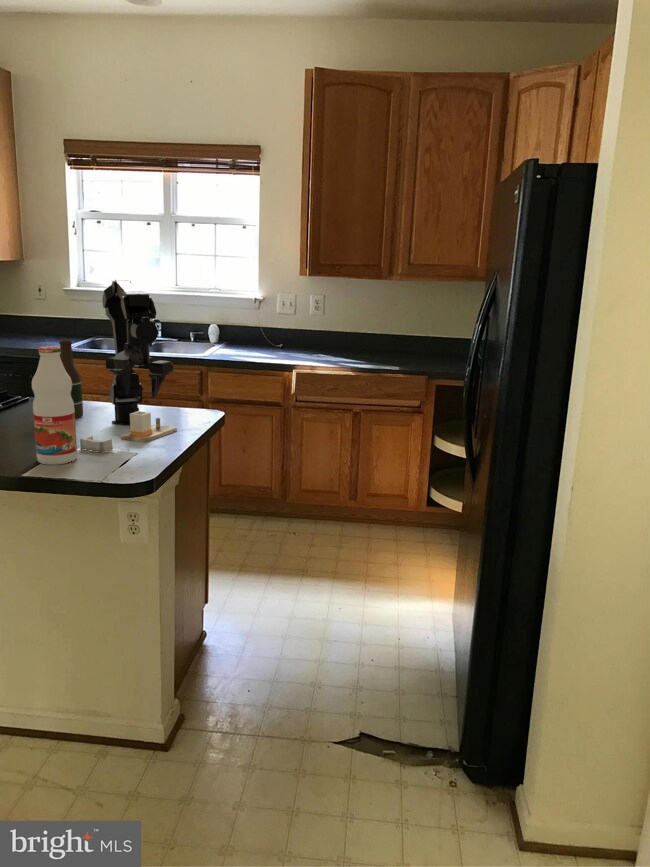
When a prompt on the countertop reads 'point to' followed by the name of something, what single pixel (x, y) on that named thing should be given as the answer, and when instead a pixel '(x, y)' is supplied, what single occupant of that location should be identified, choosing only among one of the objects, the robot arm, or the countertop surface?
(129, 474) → the countertop surface
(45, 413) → the fruit juice
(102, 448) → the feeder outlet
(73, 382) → the beer bottle
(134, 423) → the sleeve
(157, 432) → the pin board
